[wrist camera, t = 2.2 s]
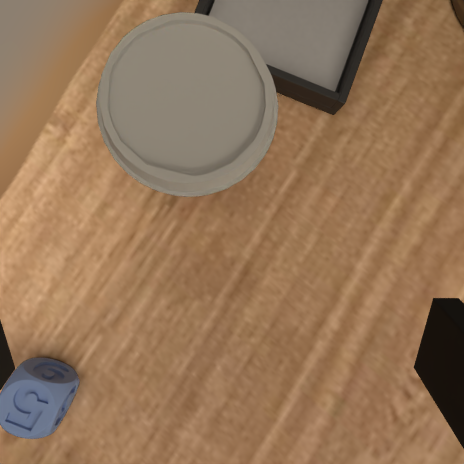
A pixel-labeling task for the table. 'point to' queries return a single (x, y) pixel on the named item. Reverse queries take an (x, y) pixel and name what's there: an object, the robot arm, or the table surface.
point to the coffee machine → (304, 42)
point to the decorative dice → (37, 397)
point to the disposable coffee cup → (186, 104)
